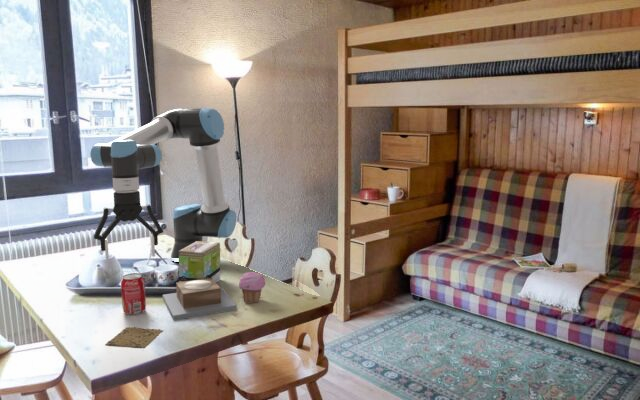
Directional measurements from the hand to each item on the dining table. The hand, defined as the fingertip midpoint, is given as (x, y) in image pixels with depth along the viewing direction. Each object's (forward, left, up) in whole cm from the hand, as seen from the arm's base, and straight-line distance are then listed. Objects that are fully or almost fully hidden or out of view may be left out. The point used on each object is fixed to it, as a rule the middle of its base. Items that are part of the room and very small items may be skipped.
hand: (130, 258), depth 167 cm
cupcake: (+7, +37, -18) cm, 42 cm away
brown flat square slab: (+20, -2, -19) cm, 27 cm away
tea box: (-17, +25, -18) cm, 35 cm away
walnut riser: (+2, +20, -16) cm, 26 cm away
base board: (+2, +20, -18) cm, 27 cm away
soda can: (0, 0, -18) cm, 18 cm away
